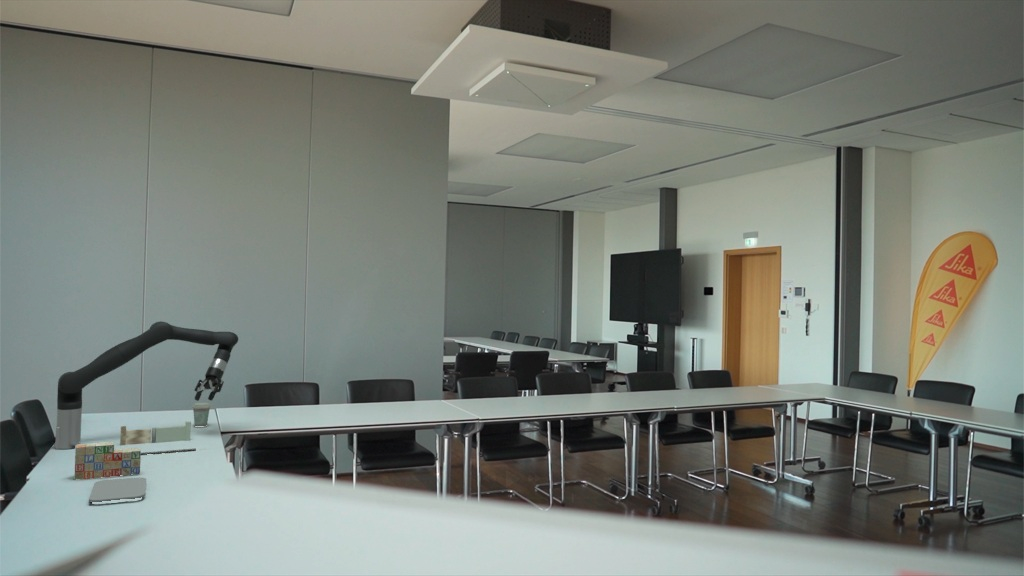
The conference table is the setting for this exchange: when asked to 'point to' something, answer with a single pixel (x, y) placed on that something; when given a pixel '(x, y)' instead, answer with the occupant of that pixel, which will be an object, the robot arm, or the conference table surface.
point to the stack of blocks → (105, 460)
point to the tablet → (118, 489)
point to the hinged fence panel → (171, 433)
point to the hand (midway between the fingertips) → (203, 399)
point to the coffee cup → (201, 413)
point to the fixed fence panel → (134, 436)
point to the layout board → (169, 451)
